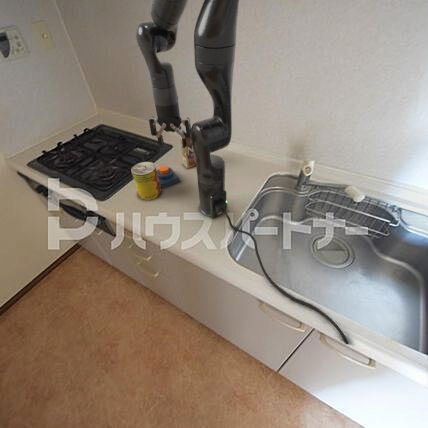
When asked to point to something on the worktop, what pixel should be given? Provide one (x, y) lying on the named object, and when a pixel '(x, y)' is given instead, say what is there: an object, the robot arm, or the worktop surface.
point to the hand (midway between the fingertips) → (173, 146)
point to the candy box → (188, 153)
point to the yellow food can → (146, 180)
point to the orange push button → (167, 178)
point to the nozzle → (164, 170)
